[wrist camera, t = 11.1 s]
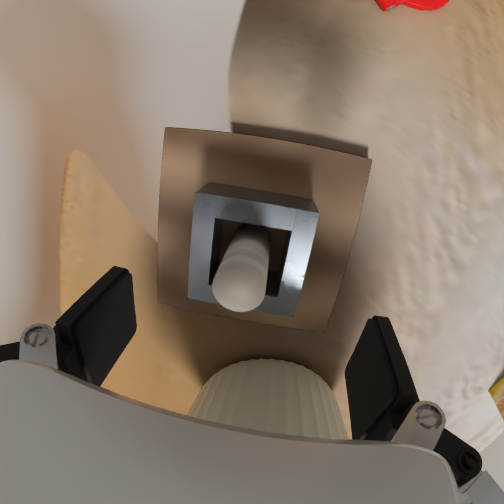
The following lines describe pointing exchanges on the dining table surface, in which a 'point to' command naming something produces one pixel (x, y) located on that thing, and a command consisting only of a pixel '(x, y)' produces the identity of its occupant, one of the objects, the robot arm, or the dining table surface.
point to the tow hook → (412, 4)
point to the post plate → (264, 175)
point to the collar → (259, 213)
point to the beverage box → (498, 395)
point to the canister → (271, 400)
